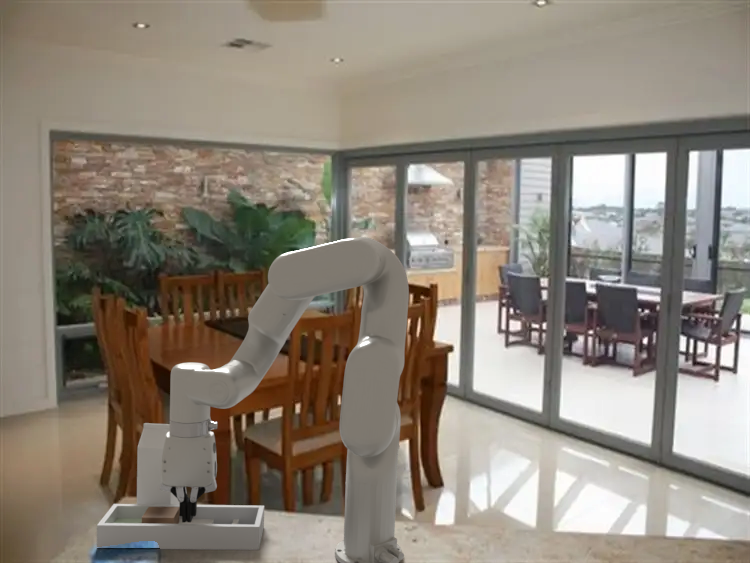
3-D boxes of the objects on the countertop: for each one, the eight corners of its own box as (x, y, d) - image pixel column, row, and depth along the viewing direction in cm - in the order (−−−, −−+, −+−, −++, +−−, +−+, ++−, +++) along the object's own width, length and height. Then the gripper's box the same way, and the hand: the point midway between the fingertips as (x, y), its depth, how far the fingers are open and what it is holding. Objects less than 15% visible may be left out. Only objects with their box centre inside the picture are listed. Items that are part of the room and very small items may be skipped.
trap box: (263, 526, 140) (264, 505, 140) (258, 549, 130) (259, 526, 130) (113, 525, 138) (113, 503, 138) (96, 548, 128) (96, 525, 128)
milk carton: (170, 519, 142) (171, 429, 140) (136, 518, 142) (137, 428, 141) (180, 506, 149) (182, 420, 148) (148, 504, 149) (149, 418, 148)
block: (179, 521, 136) (179, 507, 136) (173, 532, 131) (173, 517, 131) (148, 521, 136) (148, 506, 136) (141, 532, 131) (141, 517, 131)
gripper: (231, 422, 137) (229, 512, 138) (155, 421, 136) (153, 511, 137) (225, 434, 129) (223, 528, 131) (145, 432, 128) (143, 527, 130)
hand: (187, 519), depth 134 cm, fingers closed
